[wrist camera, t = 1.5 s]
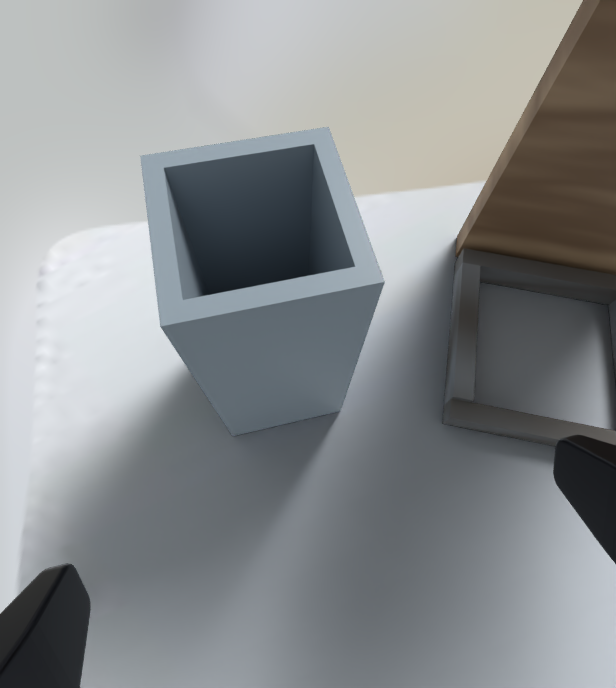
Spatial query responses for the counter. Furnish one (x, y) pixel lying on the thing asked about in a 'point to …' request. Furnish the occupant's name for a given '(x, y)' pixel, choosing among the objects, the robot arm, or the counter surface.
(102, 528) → the counter surface
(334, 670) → the counter surface
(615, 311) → the wooden c-shaped stand
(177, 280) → the sleeve
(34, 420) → the counter surface
